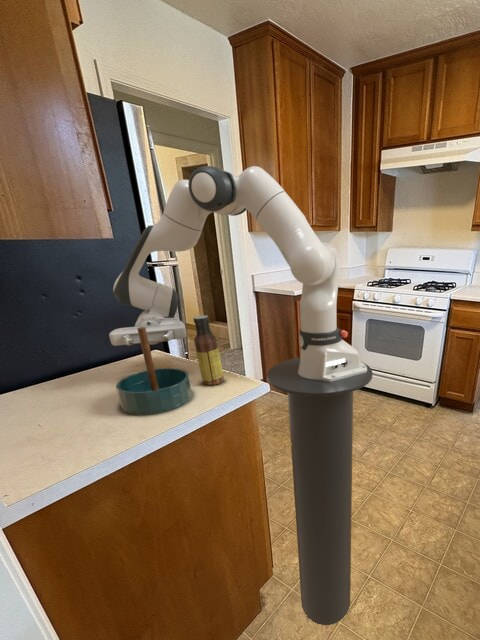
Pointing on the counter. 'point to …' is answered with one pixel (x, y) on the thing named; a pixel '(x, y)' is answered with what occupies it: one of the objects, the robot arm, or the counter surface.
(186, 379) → the bowl
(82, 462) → the counter surface
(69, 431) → the counter surface
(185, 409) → the counter surface
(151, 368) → the wooden dowel stand
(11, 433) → the counter surface
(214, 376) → the sauce bottle
